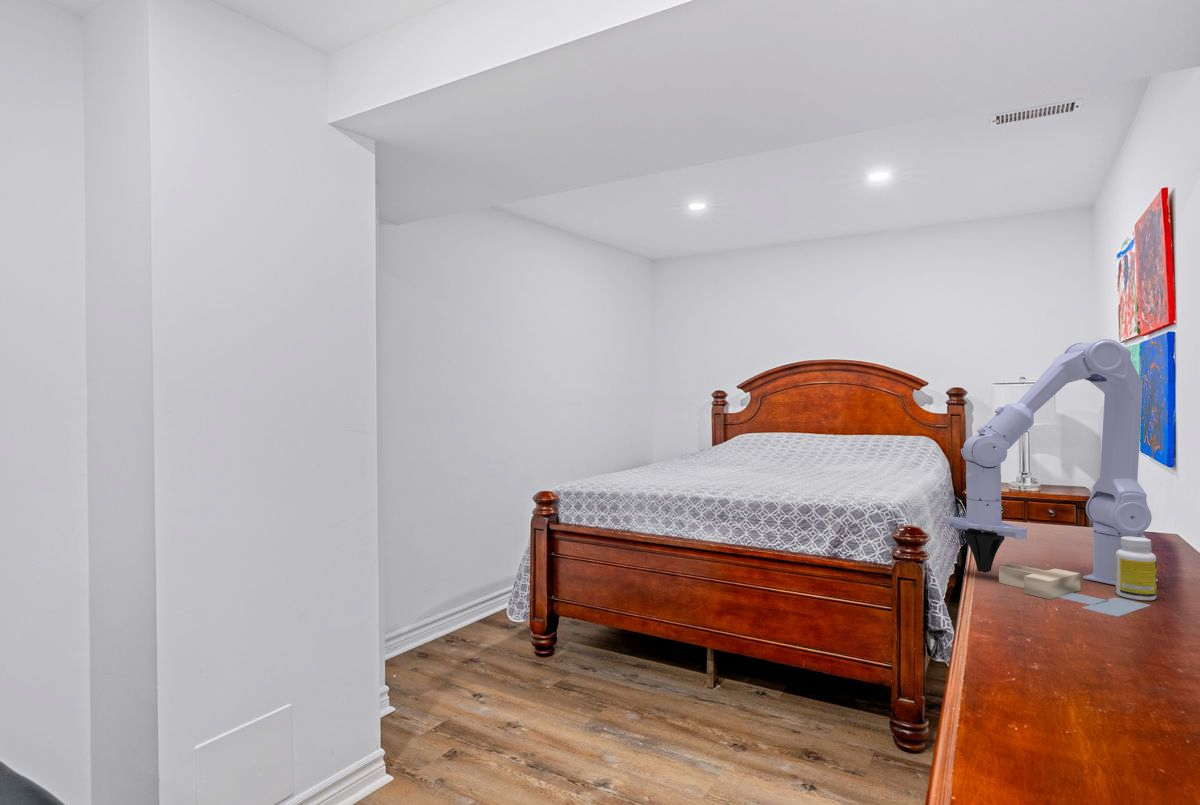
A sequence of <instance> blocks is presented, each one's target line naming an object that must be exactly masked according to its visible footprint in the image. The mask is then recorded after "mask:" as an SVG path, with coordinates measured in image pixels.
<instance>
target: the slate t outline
mask: <svg viewBox="0 0 1200 805" xmlns="http://www.w3.org/2000/svg"><path fill="white" fill-rule="evenodd" d="M1057 598H1059V599H1063V600H1066V601H1071V602H1075V603H1080V604H1084V603H1085V606H1082V607H1081V609H1084V610H1088V611H1091V612H1096V613H1100V614H1104V615H1109V616H1113V617H1117V618H1118V617H1121V616H1124V615H1127V614H1130V613H1132V612H1133V613H1134V612H1136V611H1139V610H1143V609H1144V608H1148V607H1150V606H1152V604H1148V603H1143V602H1138V601H1135V600H1131V599H1127V598H1126V599H1125V598H1120V597H1116V596H1115V597H1112V598H1108V599H1103V598H1100V597H1094V596H1090V595H1085V594H1082V593H1081V594H1080V593H1077V592H1073V593H1070V594H1066V595H1062V596H1059V597H1057Z"/></svg>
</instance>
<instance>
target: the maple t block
mask: <svg viewBox="0 0 1200 805" xmlns="http://www.w3.org/2000/svg"><path fill="white" fill-rule="evenodd" d="M998 583H999V584H1003V585H1007V586H1012V587H1016V588H1021V589H1023V594H1026V595H1030V596H1034V597H1039V598H1041V599H1042V598H1043V599H1047V600H1051V599H1055V598H1058V597H1059V596H1062V595H1066V594H1070V593H1077V592H1079V591H1081V572H1076V571H1071V570H1066V569H1060V568H1056V567H1054V568H1052V569H1047V570H1046V569H1041V568H1035V567H1031V566H1026V565H1021V564H1016V563H1007V564H1003V565H999V566H998Z"/></svg>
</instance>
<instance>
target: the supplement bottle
mask: <svg viewBox="0 0 1200 805" xmlns="http://www.w3.org/2000/svg"><path fill="white" fill-rule="evenodd" d="M1121 546H1122V549H1120V550H1118V551H1117V552H1116V585H1115V593H1116V594H1117V595H1118V596H1120V597H1122V598H1124V599H1125V598H1126V599H1129V600H1134V601H1135V600H1136V601H1154V600H1156V599H1157V592H1158V591H1157V584H1158V583H1157V582H1156V579H1157V556H1156V555H1155V554H1154V553H1153V552H1152V551H1151V552H1149V549H1151V550H1152V540H1151V539H1149V538H1147V537H1146V538H1141V537H1132V536H1124V537H1121Z"/></svg>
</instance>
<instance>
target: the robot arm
mask: <svg viewBox="0 0 1200 805" xmlns="http://www.w3.org/2000/svg"><path fill="white" fill-rule="evenodd" d="M1131 354H1132V351H1130V349H1128V348H1126V347H1125V346H1124V345H1123V344H1121V343H1120V342H1118V341H1116V340H1114V339H1111V338H1102V339H1098V340H1095V341H1094V340H1093V341H1089V342H1088V341H1087V342H1077V343H1073V344H1071V345H1069V346H1068V347H1067V348H1066V349H1065V351H1063V353H1061V354H1060V355H1058V356H1056V357H1055V359H1054V360H1053V361H1052V363H1051V364H1050V365H1049V367H1048V368H1047V369H1046V370H1045V371H1044V372H1043V373H1042V374H1041V375H1040V376H1039V378H1038V379H1037V380H1036V381H1035V382H1034V384H1033V385H1032V386H1030V387H1029V389H1028V390H1027V391H1026V392H1025V394H1023V396H1022V397H1021V398H1020V399H1019V400H1018V401H1017V402H1016V403H1006V404H1005V405H1004V406H998V407H996V409H994V411H993V412H994V413H995V415H994V416H993V417H992V418H991V419H990V420H989V421H988V422H986V424H985V425H984V426H983V427H981V426H980V427H979V428H978V429H976V432H977V433H978V434H976V435H972V436H970V437H969V438H967V439H966V440H965V441H964V444H963V447H962V448H961V449H960V453H961V457H962V458H963V459H964V460H965V462H966V474H965V481H966V484H965V486H966V494H965V495H966V498H965V499H966V517H959V516H953V515H950V516H945V517H944V528H945V527H946V528H950V529H951V528H954V529H960V530H964V531H965V530H966V532H965V533H963V538H964V540H965V541H966V543H967V545H968V546H969V549H970V551H971V553H972V555H973V558H974V561H975V565H976V568H977V572H981V573H989V572H991V571H992V567H993V564H994V560H995V557H996V555H997V553H998V550H999V549H1000V547H1001V544H1002V543H1003V542H1004V540H1005V537H1007V538H1013V539H1015V540H1020V541H1022V540H1026V539H1028V529H1027V527H1023V526H1022V527H1021V526H1017V525H1013V524H1010V523H1009V524H1008V523H1004V522H1002V520H1003V519H1002V470H1001V469H1002V467H1001V466H1002V463H1003V462H1005V461H1006V459H1007V456H1008V450H1009V449H1010V448H1011V447H1013V445H1014V444H1016V443H1017V441H1018V440H1019V439H1020V438H1021V437H1023V435H1024V434H1025V433H1026V432H1028V430H1030V428H1031V427H1032V426H1033V425H1034V424H1035V418H1034V415H1035V413H1036V412H1038V411H1039V410H1040V409H1041V408H1042V407H1043V406H1044V405H1045V404H1046V403H1047V402H1049V401H1050V399H1052V398H1053V397H1054V396H1055V395H1056V394H1057V393H1058V392H1059V391H1061V390H1062V389H1063V388H1064V387H1065V386H1066V385H1067V384H1069V383H1072V382H1076V381H1080V380H1085V381H1088V382H1090V383H1091V384H1092V385H1093V386H1095V387H1097V389H1099V390H1100V391H1101V392H1103V393H1104V399H1103V400H1104V401H1103V415H1102V416H1103V419H1102V434H1101V435H1102V437H1101V452H1100V453H1101V454H1100V470H1099V471H1100V472H1099V478H1098V479H1097V480H1096V482H1095V483H1094V484H1093V485H1092V492H1091V495H1090V497H1089V498H1088V500H1087V501H1086V503H1085V504H1086V505H1085V514H1086V515H1087V517H1088V519H1089V520H1091V522H1092V523H1093V524H1092V525H1093V527H1092V550H1093V552H1092V556H1093V557H1092V558H1093V563H1092V565H1093V566H1092V567H1093V571H1092V573H1090V574H1087V575H1083V576H1082V578H1083V580H1088V581H1092V582H1098V583H1103V584H1108V585H1113V586H1116V552H1117V551H1118V550H1120V549H1122V546H1121V537H1124V536H1132V537H1141V538H1147V537H1146V536H1145V535H1144V532H1145V531H1146V530H1148V528H1149V527H1150V525H1151V523H1152V518H1153V517H1152V516H1153V515H1152V513H1151V510H1150V508H1149V505H1148V502H1147V496H1148V495H1147V493H1146V491H1145V490H1144V488H1143V487H1142V486H1141V484H1140V483H1139V480H1138V475H1139V473H1138V472H1139V456H1140V440H1141V439H1140V438H1141V424H1142V423H1141V421H1142V406H1143V405H1142V404H1143V403H1142V402H1143V380H1142V378H1141V377H1140V375H1139V373H1138V371H1137V369H1136V367H1135V365H1134V364H1133V361H1132V358H1131V356H1132V355H1131ZM1149 552H1151V553H1152V548H1151V549H1149ZM1157 582H1158V578H1156V583H1157Z"/></svg>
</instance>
